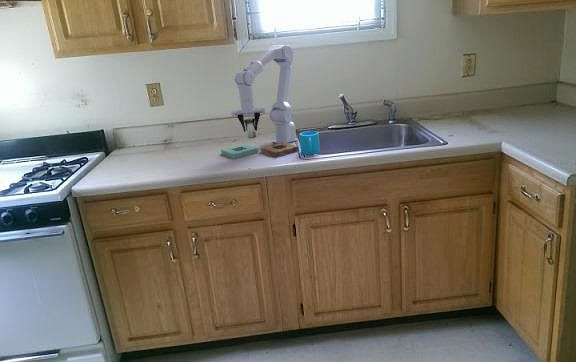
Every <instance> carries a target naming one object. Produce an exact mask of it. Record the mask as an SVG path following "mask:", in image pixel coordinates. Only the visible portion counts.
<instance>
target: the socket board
mask: <svg viewBox="0 0 576 362" xmlns="http://www.w3.org/2000/svg"><path fill="white" fill-rule="evenodd" d="M220 151H221V155H224V156H227V157H229V158H231V159H239V158H243V157H246V156H250V155H254V154H256V153H257V154H258V153H259V150H258V147H255V146H253V145H249V144H246V143H241V144H238V145H234V146H230V147H226V148H221V150H220Z"/></svg>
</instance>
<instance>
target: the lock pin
mask: <svg viewBox="0 0 576 362" xmlns="http://www.w3.org/2000/svg"><path fill="white" fill-rule="evenodd" d="M244 125H245V130H246V137H247V139H248V140H249V139H251V140H252V139H255V138H257V131H256V130H255V118H254V117H250V118H244Z"/></svg>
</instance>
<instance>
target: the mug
mask: <svg viewBox="0 0 576 362" xmlns="http://www.w3.org/2000/svg"><path fill="white" fill-rule="evenodd" d="M299 145H300V154H302V155H316V154H319V153H320V152H321V147H320V146H321V145H320V133H319V131H316V130H308V131H303V132H300V133H299Z"/></svg>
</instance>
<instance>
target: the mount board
mask: <svg viewBox="0 0 576 362" xmlns="http://www.w3.org/2000/svg"><path fill="white" fill-rule="evenodd" d="M299 148H300V147H299V146H298V145H295V144H292V143H289V142H288V143H284V142H281V143H275V144H271V145H270V144H269V145H267V146H262V147H261V148H260V153H263V154H266V155H269V156H271V157H275V158H278V157H281V156H285V155H289V154H292V153H297V152H299V151H300V149H299Z"/></svg>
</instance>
